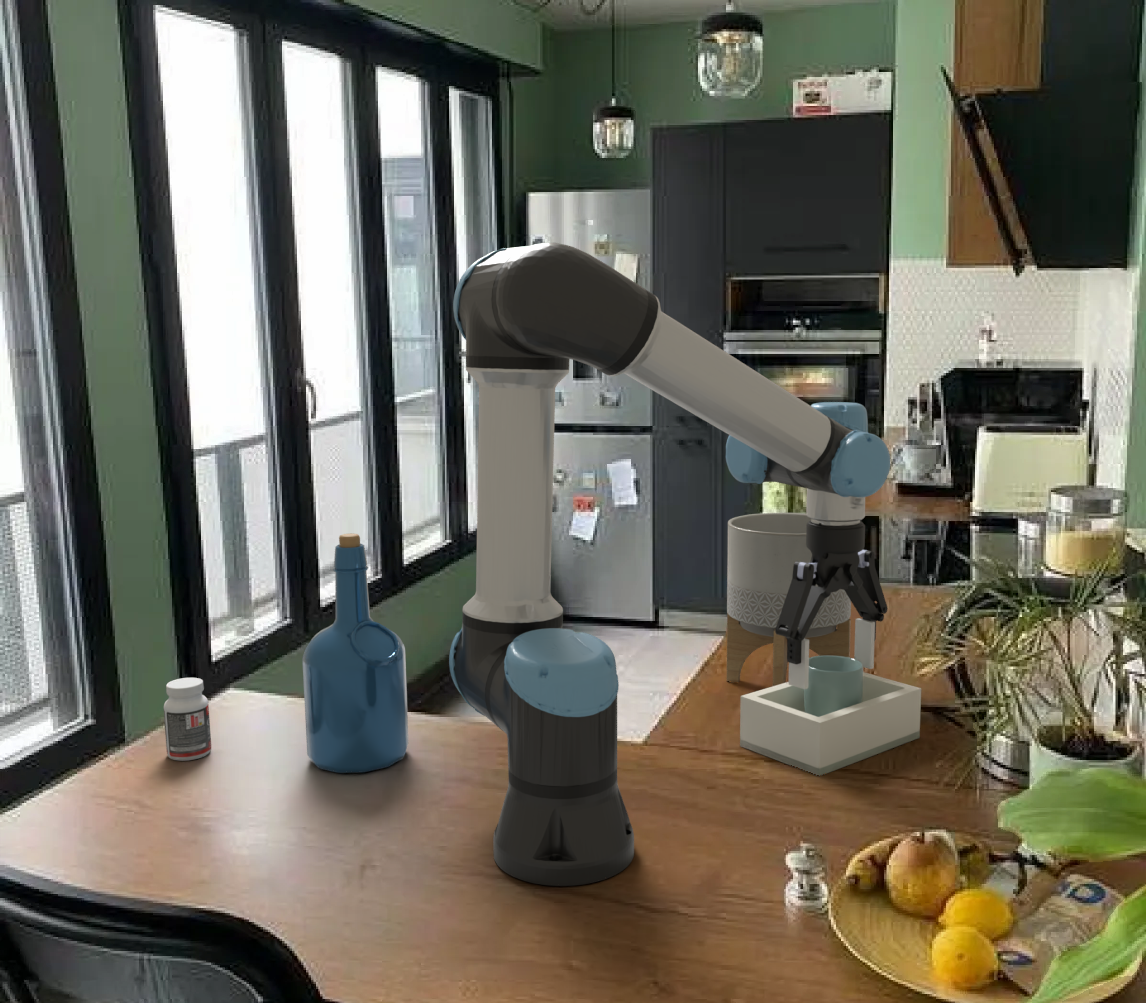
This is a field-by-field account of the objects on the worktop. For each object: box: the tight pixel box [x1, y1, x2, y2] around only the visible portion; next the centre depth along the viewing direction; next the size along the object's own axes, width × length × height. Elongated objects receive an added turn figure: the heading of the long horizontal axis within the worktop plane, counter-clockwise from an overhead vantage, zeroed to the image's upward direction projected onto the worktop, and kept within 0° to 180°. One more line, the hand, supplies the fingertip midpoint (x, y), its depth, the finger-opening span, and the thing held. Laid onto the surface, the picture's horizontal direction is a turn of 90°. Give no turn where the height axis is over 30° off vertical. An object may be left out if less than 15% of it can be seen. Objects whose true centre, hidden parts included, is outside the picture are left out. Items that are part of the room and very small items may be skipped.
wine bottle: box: [302, 533, 409, 774], centre depth 148 cm, size 14×13×30 cm
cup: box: [804, 655, 864, 717], centre depth 153 cm, size 8×8×10 cm
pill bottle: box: [163, 677, 212, 762], centre depth 151 cm, size 6×6×10 cm
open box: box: [739, 671, 922, 777], centre depth 153 cm, size 21×14×7 cm, turn 128°
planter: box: [726, 512, 852, 687], centre depth 176 cm, size 19×19×26 cm
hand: (831, 676), depth 152 cm, fingers open, 13 cm apart
